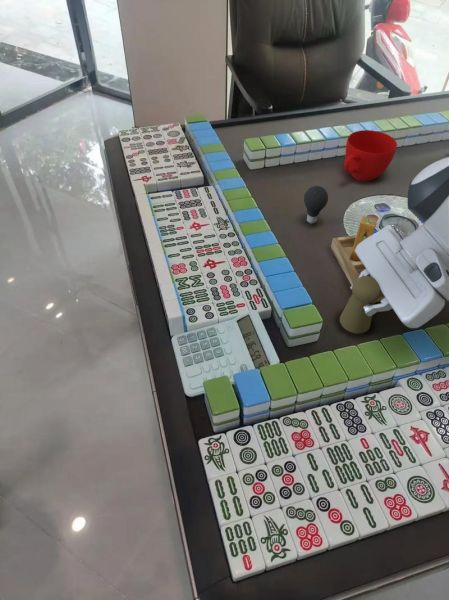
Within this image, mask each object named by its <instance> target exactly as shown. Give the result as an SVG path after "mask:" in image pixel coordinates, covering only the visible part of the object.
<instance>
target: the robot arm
mask: <svg viewBox="0 0 449 600" xmlns="http://www.w3.org/2000/svg"><path fill="white" fill-rule="evenodd" d="M407 209H408V211H410V212H411V213H412V214H413V215H414V216H415V217H416V218H417V219H418V220H419V221H420V222H421V223H422V225H420V226H418V227H417V228H416V229H415V230H414V231H412V232H410V234H407V233H406V232H404V230H403V228H402V226H400V225H399V224H387V225H385V226H384V227H383V228H381V229H380V230H378V231H377V232H375V233H374V232H373V235H371V236H369V237H368V238H366V239H365V240H363V241H362V242H361V243H359V244H358V245H357V247H356V249H355V253H356V254H357V256H358V257H359V259H360V260H361V262H362V263H363V265H364V266H365V268H366V269H365V270H364V271H362V272H361V274H360V276H359V278H360V277H362V276H369V277H373V278H374V279H375V280H376V281H377V282H378V284H379V286H380V290H381V292H382V293H383V295H384V296H385V298H384V299H382V300H381V301H380V303H377V304H374V305H372V304H371V303H368V304H367V305H366V306H364V307H363V310H364V312H365V314H366V315H368V316H372V317H373V315H375V314H376V313H382V312H389V311H390V310H393V311H394V312H395V314H396V316H397V317H398V319H399V320H400V321H401V323H402V324H403V325H404V326H405V327H407V328H408V329H418V328H420V327H422V326H423V325H425V324H426V323H428V322H429V321H430V320H432V319H433V318H434V317H436V316H437V315H438V314H439V313H440V312H441V311H442V310H443V309H444V307H445V305H446V301H447V302H448V301H449V156H447V157H444V158H441V159H438V160H437V161H435V162H433V163H432V162H431V164H429V165H427V166H425V168H423V169H422V170H421V171H419V172H418V173H417V175H416V176H415V177H414V178H413V179H412V180H411V181H410V183H409V185H408V189H407ZM352 286H353V285H351V286H350V287H349V288H350V290H351V291H352Z"/></svg>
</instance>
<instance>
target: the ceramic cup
mask: <svg viewBox="0 0 449 600" xmlns="http://www.w3.org/2000/svg"><path fill="white" fill-rule="evenodd" d="M397 147H398V143H397V140H396V139H395V138H394V137H392V136H391V135H389V134H387V133H385V132H382V131H378V130H373V129H372V130H371V129H362V130H356V131H354V132H351V133H350V134H349V135H348V137H347V140H346V146H345V151H344V152H345V153H344V154H345V156H344V159H345V160H344V162H343V170H344V171H345V172H346V173H348V174H351V176H352V177H353V178H354V179H356V180H357V181H362V182H370V181H373V180H374V179H376V178H378V177H380V175H382V174H383V173H384V172H385V171H386V170H387V169H388V167H389V166H390V165H391V164H392V161H393V159H394V156H395V154H396V151H397Z"/></svg>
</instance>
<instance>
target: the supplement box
mask: <svg viewBox="0 0 449 600" xmlns="http://www.w3.org/2000/svg"><path fill="white" fill-rule="evenodd" d="M377 222H378V219H377V218H373V217H369V216H364V215H363V216H362V218H361V219H360V222H359V224H358V228H357V232H356V234H355V235H356V239H355V242H354V246H353V249H352V253H351V256H350V259H351V260H356V261H361V260H360V259H359V257H358V256H357V254H356V253H355V249H356V247H357V245H358V244H359V243H361V242H362V241H363V240H365V239H366V238H368V237H369V236H371V235H373V234H374V232H375V229H376V228H377V227H376V226H377Z"/></svg>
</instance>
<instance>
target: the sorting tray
mask: <svg viewBox="0 0 449 600" xmlns="http://www.w3.org/2000/svg"><path fill="white" fill-rule="evenodd" d="M356 235H357V234H354V235H347V236H338V237H333V238H332V240H331V245H330V250H331V251H332V254H333V255H334V257H335V259H336V260H337V262H338V264H339V266H340V267H341V269H342V271H343V273H344V274H345V277H346V278H347V280H348V282H349V284H350V285H351V286H352V285H353V283H354V282H355V280H356V279H358V278H359V276H360V274H361V272H362V271H364V270H365V269H366V268H365V266H364V265H363V263H362V262H361V261H356V260H351V259H350V256H351V253H352V249H353V246H354V242H355V239H356ZM384 298H385V296H384V295H383V293H382V292H381V295H380V297H379V298H378V299H377V300H376V301H375V303H379V302H380V301H381V300H382V299H384ZM380 303H381V302H380Z"/></svg>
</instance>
